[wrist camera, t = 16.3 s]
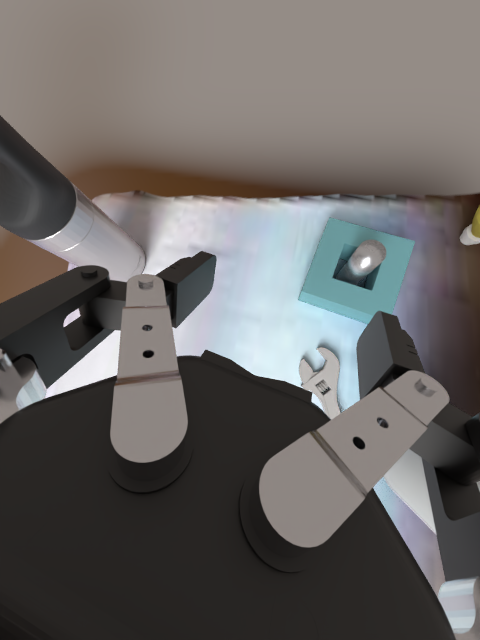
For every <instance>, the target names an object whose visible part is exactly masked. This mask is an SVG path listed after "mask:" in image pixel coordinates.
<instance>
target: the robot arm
mask: <svg viewBox="0 0 480 640" xmlns="http://www.w3.org/2000/svg"><path fill="white" fill-rule="evenodd" d="M0 225H1V226H2V227H3V228H5V229H7V230H9V231H10V232H12V233H14V234H16V235H18V236H20V237H22V238H24V239H26V240H28V241H30V242H32V243H34V244H36V245H37V246H39V247H41V248H43V249H45V250H48V251H49V252H51V253H53V254H55V255H57V256H59V257H61V258H63V259H65V260H66V261H68V262H70V263H72V264H74V265H76V266H78V267H76V268H74V269H72V270H70V271H68V272H66V273H64V274H62V275H59V276H58V277H55V278H53V279H51V280H49V281H47V282H45V283H43V284H41V285H39V286H36V287H34V288H32V289H30V290H28V291H26V292H24V293H22V294H20V295H18V296H16V297H13V298H11V299H9V300H7V301H5V302H3V303H1V304H0V640H480V491H479V488H478V486H477V483H476V482H478V481H480V413H478V414H477V415H475V416H474V417H472V416H470V415H468V414H467V413H465V412H463V411H461V410H460V409H458V408H456V407H454V406H453V405H451V404H450V403H448V402H449V395H448V393H447V392H446V390H445V389H444V388H443V386H442V385H441V384H440V383H438V382H437V381H436V380H435V379H433V378H432V377H430V376H428V375H426V374H425V372H424V369H423V367H422V364H421V361H420V359H419V356H418V355H417V354H418V353H417V351H416V349H415V345H414V342H413V340H412V338H411V337H410V336H409V335H408V334H407V332H406V331H405V330H402V329H401V326H400V323H399V320H398V317H397V316H394V315H391V314H388V313H385V312H382V311H377V312H376V313H375V315H374V316H373V318H372V319H371V321H370V322H369V324H368V325H367V327H366V328H365V330H364V331H363V333H362V334H361V336H360V338H359V340H358V343H357V363H358V378H359V392H360V401H358V402H357V403H355V404H354V405H352V406H351V407H349V408H348V409H346V410H345V411H344V412H342V413H341V414H339V415H338V416H336V417H335V418H333V419H332V420H331V419H330V418H329V417H328V416H327V415H326V413H324V412H323V411H322V410H321V409H320V408H319V407H318V406H316V405H315V404H314V403H312V402H311V398H312V392H310V391H307V390H305V389H302V388H300V387H298V386H295V385H293V384H290V383H288V382H285V381H280V380H275V379H270V378H264V377H259V376H255V375H253V374H251V373H250V372H248V371H247V370H245V369H244V368H242V367H241V366H239V365H238V364H236V363H235V362H233V361H232V360H230V359H228V358H225V357H223V356H220V355H218V354H215V353H213V352H210V351H208V350H205V351H204V353H203V354H202V356H201V357H200V356H176V350H175V343H174V337H173V330H172V327H174V328H177V327H178V326H179V325H180V324H181V323H182V322H183V321H184V320H185V318H186V317H187V316H188V315H189V314H190V313H191V312H192V311H193V310H194V309H195V308H196V307H197V306H198V305H199V304H200V303H201V302H202V301H203V300H204V299H205V298H206V296H207V295H208V294H209V293H210V291H211V289H212V286H213V281H214V274H215V267H216V256H215V255H212V254H209V253H206V252H203V251H200V252H199V253H198V254H196V255H195V256H193V257H192V258H191V257H187V258H183V259H180V260H178V261H177V262H175V263H174V264H172V265H171V266H170V267H168V268H166V269H164V270H163V271H161V272H160V273H158V274H157V275H155V276H154V275H149V274H141V273H142V271H143V269H144V267H145V261H146V260H145V254H144V251H143V250H142V248H141V247H140V246H139V245H138V244H137V243H136V242H135V241H134V240H133V239H132V238H131V237H130V236H129V235H128V234H126V233H125V232H124V231H123V230H122V229H121V228H120V227H119V226H118V225H117V224H116V223H115V222H114V221H112V220H111V219H110V218H109V217H108V216H107V215H106V214H105V213H104V212H103V211H102V210H101V209H100V208H98V207H97V206H96V205H95V204H94V203H93V202H92V201H91V200H90V199H89V198H88V197H86V196H85V195H84V194H83V193H82V192H81V191H80V190H79V189H78V188H77V187H76V186H75V185H73V184H72V183H71V182H70V181H69V180H68V179H67V178H66V177H65V176H64V175H63V174H61V173H60V172H59V171H58V170H57V169H56V168H55V167H54V166H53V165H52V164H51V163H50V162H48V161H47V160H46V159H45V158H44V157H43V156H42V155H41V154H40V153H39V152H38V151H36V150H35V149H34V148H33V147H32V146H31V145H30V144H29V143H28V142H27V141H26V140H25V139H24V138H23V137H22V136H21V135H20V134H19V133H18V132H17V131H16V130H15V129H14V128H13V127H11V126H10V124H8V123H7V122H6V121H5V120H4V119H3V118H2V117H1V116H0ZM78 308H79V311H80V315H81V316H80V317H79V318H77V319H76V320H74V321H73V322H71V323H70V324H68V325H67V326H66V327H63V323H64V320H65V318H66V317H67V316H68V315H69V314H70V313H72V312H73V311H75V310H76V309H78ZM114 330H121V336H120V349H119V361H118V374H117V375H116V376H113V377H110V378H107V379H104V380H101V381H98V382H95V383H92V384H89V385H85V386H82V387H79V388H76V389H73V390H70V391H67V392H64V393H61V394H58V395H55V396H52V397H48V398H45V399H44V397H45V395H46V389H47V388H48V387H50V386H51V385H52V384H53V383H54V382H55V381H57V380H58V379H59V378H60V377H61V376H62V375H64V374H65V373H66V372H67V371H68V370H69V369H70V368H72V367H73V366H74V365H75V364H76V363H77V362H79V361H80V360H81V359H82V358H83V357H84V356H85V355H87V354H88V353H89V352H90V351H91V350H92V349H94V348H95V347H96V346H97V345H98V344H99V343H101V342H102V341H103V340H104V339H105V338H106V337H107V336H109V335H110V334H111V333H112V332H113V331H114ZM408 449H410V450H411V451H413V452H414V453H416V454H417V455H419V456H420V457H421V458H422V463H423V468H424V473H425V478H426V484H427V489H428V494H429V499H430V504H431V509H432V514H433V519H434V524H435V529H436V534H437V539H438V545H439V550H440V555H441V560H442V565H443V570H444V575H445V580H446V582H445V583H444V584H442V586H441V588H440V591H439V597H438V598H437V596H436V594H435V592H434V591H433V589H432V587H431V585H430V584H429V582H428V580H427V579H426V577H425V575H424V574H423V572H422V570H421V569H420V567H419V565H418V564H417V562H416V560H415V558H414V557H413V555H412V553H411V552H410V550H409V548H408V547H407V545H406V543H405V542H404V540H403V538H402V537H401V535H400V533H399V531H398V530H397V528H396V526H395V525H394V523H393V521H392V520H391V518H390V516H389V515H388V513H387V511H386V509H385V508H384V506H383V504H382V503H381V501H380V499H379V498H378V496H377V494H376V493H375V491H374V489H373V487H374V486H375V485H376V483H377V482H378V481H379V480H380V479H381V478H382V477H383V476H384V475H385V474H386V473H387V472H388V471H389V469H390V468H391V467H392V466H393V465H394V464H395V463H396V462H397V461H398V460H399V459H400V458H401V457H402V456H403V454H404V453H405V452H406V451H407V450H408Z"/></svg>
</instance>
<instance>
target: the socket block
mask: <svg viewBox="0 0 480 640" xmlns="http://www.w3.org/2000/svg"><path fill="white" fill-rule="evenodd" d="M366 240H377V241H379V242H381V243H382V244H383V245H384V246H385V248H386V257H385V259H384V261H383V262H381V263H380V264H379V265H378V266H377V267H376V268H375V269H374V270H373V271H371V272H370V273H369V274H368V277H367V280H366V283H365V286H364V288H361V287H358V286H355V285H352V284H349V283H346V282H343V281H340V280H337V279H334V278H332V277H333V274H334V271H335V268H336V266H337V263H338V260H339V258H340V259H343V260H347V261H348V260H349V258H350V257H351V256H352V254H353V253H354V252H355V251H356V249H357V248H358V247H359V245H360V244H361V243H362V242H364V241H366ZM414 243H415V241H412V240H409V239H405V238H401V237H398V236H394V235H391V234H387V233H384V232H380V231H376V230H373V229H369V228H366V227H362V226H359V225H355V224H352V223H348V222H344V221H341V220H337V219H334V218H329V220H328V223H327V225H326V227H325V230H324V232H323V235H322V237H321V240H320V243H319V245H318V248H317V251H316V253H315V256H314V259H313V261H312V264H311V267H310V269H309V272H308V275H307V277H306V280H305V283H304V285H303V288H302V291H301V293H300V296H299V299H298V300H300V301H303V302H305V303H308V304H311V305H314V306H317V307H320V308H323V309H326V310H329V311H331V312H334V313H337V314H340V315H343V316H346V317H349V318H352V319H354V320H357V321H360V322H363V323H366V324H369V322H370V321H371V319H372V318H373V316H374V315H375V313H376V312H377V311H382V312H385V313H388V314H391V315H392V312H393V309H394V306H395V303H396V300H397V296H398V293H399V290H400V287H401V284H402V281H403V277H404V274H405V271H406V268H407V265H408V262H409V259H410V255H411V252H412V249H413V246H414Z"/></svg>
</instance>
